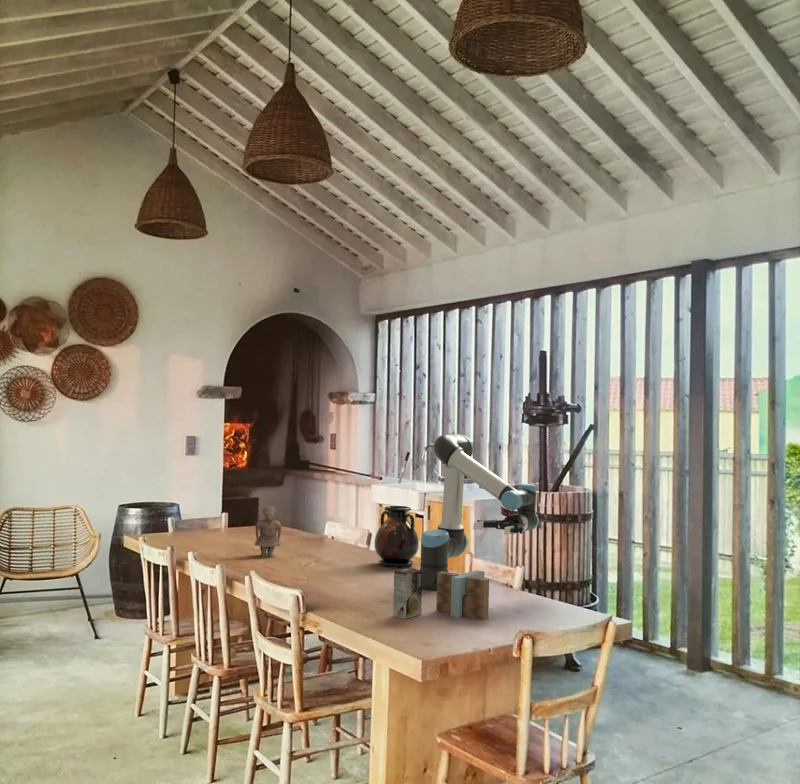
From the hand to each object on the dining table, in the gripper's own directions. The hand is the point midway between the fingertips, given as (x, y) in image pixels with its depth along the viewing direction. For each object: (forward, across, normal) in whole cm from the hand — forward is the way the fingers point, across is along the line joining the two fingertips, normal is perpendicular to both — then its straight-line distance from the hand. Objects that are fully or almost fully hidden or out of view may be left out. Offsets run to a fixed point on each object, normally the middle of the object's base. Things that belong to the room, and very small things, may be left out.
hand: (489, 528), depth 305 cm
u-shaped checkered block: (+18, 0, -30) cm, 34 cm away
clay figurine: (-16, +134, -34) cm, 139 cm away
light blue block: (+14, 0, -30) cm, 33 cm away
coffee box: (+33, +14, -30) cm, 47 cm away
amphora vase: (-43, +74, -32) cm, 91 cm away
